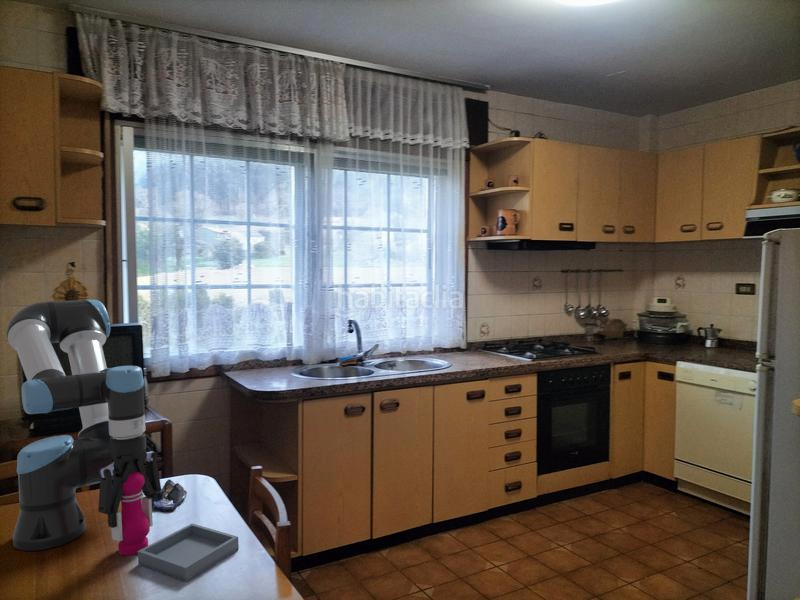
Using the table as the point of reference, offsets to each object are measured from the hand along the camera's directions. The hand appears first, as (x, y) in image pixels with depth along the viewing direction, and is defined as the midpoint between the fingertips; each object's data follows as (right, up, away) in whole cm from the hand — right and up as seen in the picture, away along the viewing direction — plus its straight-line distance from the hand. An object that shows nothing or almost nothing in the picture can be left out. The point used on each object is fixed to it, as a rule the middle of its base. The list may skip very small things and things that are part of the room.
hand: (132, 531), depth 133 cm
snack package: (-1, -3, +26) cm, 26 cm away
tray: (+14, -4, -4) cm, 15 cm away
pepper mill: (0, -4, 0) cm, 4 cm away
